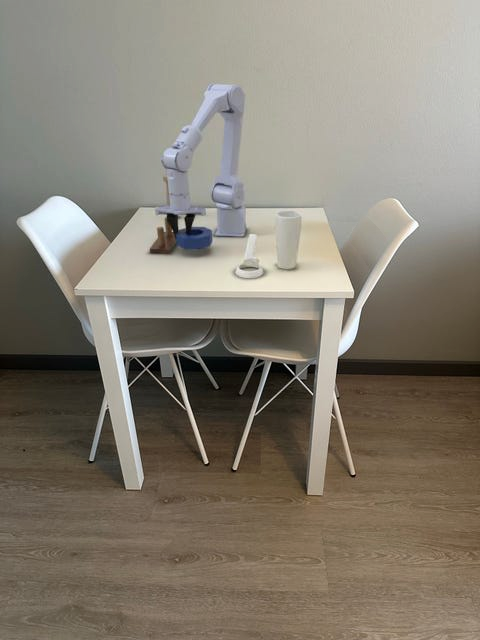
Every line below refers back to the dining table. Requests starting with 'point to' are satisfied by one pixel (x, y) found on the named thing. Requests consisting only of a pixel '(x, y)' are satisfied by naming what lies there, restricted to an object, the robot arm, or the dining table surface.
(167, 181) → the handle
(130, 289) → the dining table surface
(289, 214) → the drinking glass
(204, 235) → the ring
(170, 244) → the rack
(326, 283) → the dining table surface
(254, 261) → the white stemmed ring
